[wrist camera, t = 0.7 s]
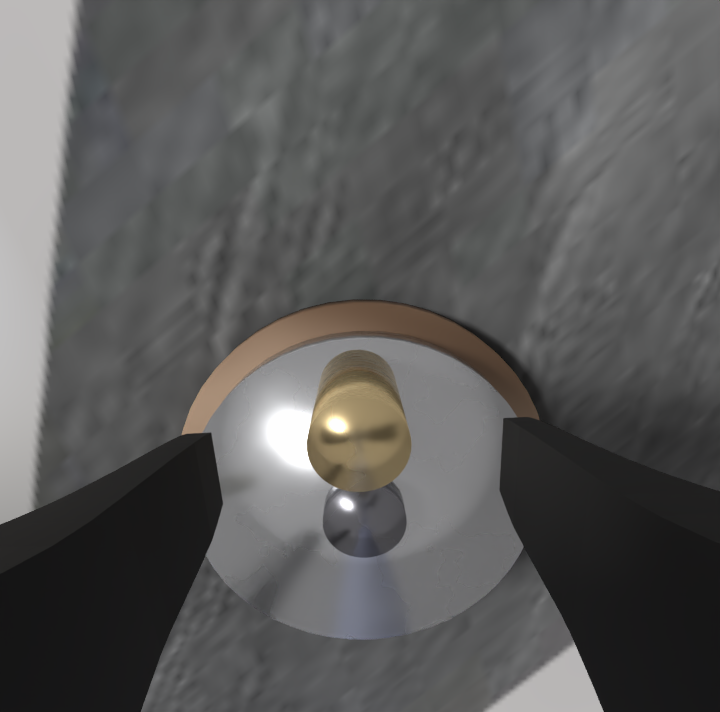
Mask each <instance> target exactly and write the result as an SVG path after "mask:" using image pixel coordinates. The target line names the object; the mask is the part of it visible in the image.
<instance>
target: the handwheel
mask: <svg viewBox="0 0 720 712" xmlns="http://www.w3.org/2000/svg"><path fill="white" fill-rule="evenodd" d="M514 417H517V416H516V414H515V413H514V411H513V410H512V408H511V407H510V406H509V404H508V403H507V401H506V400H505V399H504V398H503V397H502V396H501V395H500V393H499V392H498V391H497V390H496V389H495V388H494V387H493V386H492V385H491V384H490V383H489V381H488V380H487V379H486V378H485V377H484V376H483V375H482V374H481V373H479V372H478V371H477V370H476V369H474V368H473V367H472V366H471V365H469V364H468V363H467V362H466V361H464V360H462V359H461V358H459V357H457V356H456V355H454V354H452V353H450V352H449V351H447V350H445V349H443V348H440V347H438V346H436V345H433V344H431V343H429V342H426V341H423V340H420V339H416V338H413V337H409V336H405V335H401V334H394V333H387V332H380V331H351V332H342V333H334V334H328V335H324V336H320V337H316V338H312V339H308V340H306V341H303V342H301V343H298V344H295V345H293V346H290V347H288V348H286V349H284V350H282V351H280V352H278V353H277V354H275V355H273V356H271V357H269V358H267V359H266V360H265V361H263V362H262V363H261V364H259V365H258V366H256V367H255V368H254V369H252V370H251V371H250V372H248V373H247V374H246V375H245V376H244V377H243V378H242V379H241V380H240V381H239V382H238V383H237V384H236V385H235V386H234V387H233V389H232V390H231V391H230V393H229V394H228V395H227V396H226V398H225V399H224V400H223V402H222V403H221V404H220V406H219V407H218V408H217V410H216V411H215V412H214V414H213V415H212V416H211V418H210V420H209V421H208V423H207V425H206V427H205V429H204V431H203V432H202V433H210V432H211V434H212V440H213V446H214V452H215V458H216V464H217V470H218V476H219V482H220V488H221V494H222V500H223V506H222V510H221V513H220V517H219V520H218V524H217V527H216V530H215V533H214V536H213V539H212V542H211V544H210V546H209V549H208V551H207V553H206V556H207V558H208V560H209V561H210V563H211V565H212V566H213V568H214V569H215V570H216V572H217V573H218V574H219V575H220V577H221V578H222V579H223V580H224V582H225V583H226V584H227V585H228V586H229V587H230V588H231V589H232V590H233V591H234V592H236V593H237V594H238V595H239V596H240V597H241V598H242V599H244V600H245V601H246V602H248V603H249V604H250V605H252V606H253V607H254V608H256V609H257V610H259V611H261V612H262V613H264V614H266V615H268V616H269V617H271V618H273V619H275V620H277V621H279V622H282V623H284V624H286V625H288V626H291V627H293V628H297V629H300V630H303V631H306V632H309V633H313V634H318V635H323V636H328V637H334V638H344V639H379V638H389V637H395V636H400V635H405V634H410V633H414V632H417V631H420V630H423V629H427V628H430V627H432V626H435V625H437V624H439V623H442V622H444V621H446V620H449V619H451V618H452V617H454V616H456V615H458V614H459V613H461V612H463V611H465V610H467V609H468V608H469V607H471V606H472V605H473V604H475V603H476V602H478V601H479V600H480V599H482V598H483V597H484V596H485V595H486V594H487V593H488V592H490V591H491V590H492V589H493V588H494V587H495V586H496V585H497V584H498V583H499V582H500V581H501V579H502V578H503V577H504V576H505V575H506V574H507V572H508V571H509V570H510V569H511V567H512V566H513V564H514V563H515V561H516V560H517V558H518V556H519V555H520V553H521V551H522V549H523V547H524V546H523V544H522V542H521V540H520V538H519V537H518V535H517V533H516V531H515V529H514V527H513V525H512V522H511V520H510V517H509V515H508V512H507V510H506V507H505V504H504V502H503V499H502V496H501V493H500V491H499V488H500V470H501V452H502V434H503V418H514Z"/></svg>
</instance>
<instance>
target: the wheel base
mask: <svg viewBox="0 0 720 712" xmlns="http://www.w3.org/2000/svg"><path fill="white" fill-rule="evenodd" d="M351 331H380V332H387V333H394V334H401V335H405V336H409V337H413V338H416V339H420V340H423V341H426V342H429V343H431V344H433V345H436V346H438V347H440V348H443V349H445V350H447V351H449V352H450V353H452V354H454V355H456V356H457V357H459V358H461V359H462V360H464V361H466V362H467V363H468V364H469V365H471V366H472V367H473V368H474V369H476V370H477V371H478V372H479V373H481V374H482V375H483V376H484V377H485V378H486V379H487V380H488V381H489V383H490V384H491V385H492V386H493V387H494V388H495V389H496V390H497V391H498V392H499V393H500V395H501V396H502V397H503V398H504V399H505V400H506V401H507V403H508V404H509V406H510V407H511V408H512V410H513V411H514V413H515V414H516V416H517V417H531V418H534V419H537V420H540V419H539V416H538V413H537V410H536V408H535V406H534V404H533V402H532V400H531V398H530V396H529V393H528V392H527V390H526V389H525V387H524V386H523V384H522V383H521V381H520V380H519V378H518V377H517V375H516V374H515V372H514V371H513V370H512V369H511V368H510V367H509V366H508V365H507V364H506V362H505V361H504V360H503V359H502V358H501V357H500V356H499V355H498V354H497V353H496V352H495V351H494V350H493V349H491V348H490V347H489V346H488V345H487V344H485V343H484V342H483V341H482V340H480V339H479V338H478V337H477V336H476V335H474V334H473V333H472V332H470V331H468V330H467V329H465V328H464V327H462V326H460V325H459V324H457V323H455V322H454V321H452V320H450V319H447V318H445V317H443V316H441V315H438V314H436V313H434V312H431V311H429V310H425V309H422V308H418V307H415V306H411V305H408V304H404V303H397V302H390V301H383V300H346V301H337V302H328V303H324V304H320V305H316V306H312V307H308V308H304V309H302V310H299V311H297V312H294V313H291V314H289V315H286V316H284V317H281V318H279V319H277V320H276V321H274V322H272V323H270V324H269V325H267V326H265V327H263V328H261V329H260V330H258V331H257V332H255V333H254V334H253V335H251V336H250V337H249V338H248V339H246V340H245V341H244V342H242V343H241V344H240V345H239V346H238V347H237V348H236V349H235V350H234V351H233V352H232V353H231V354H230V355H229V356H228V357H227V358H226V359H225V360H224V361H223V362H222V363H221V364H220V365H219V366H218V367H217V368H216V369H215V370H214V372H213V373H212V374H211V376H210V377H209V378H208V380H207V381H206V382H205V384H204V385H203V386H202V388H201V390H200V391H199V393H198V395H197V397H196V399H195V401H194V403H193V405H192V407H191V408H190V411H189V414H188V417H187V420H186V423H185V425H184V428H183V432H182V435H185V434H190V433H202V432H203V431H204V429H205V427H206V425H207V423H208V421H209V420H210V418H211V416H212V415H213V414H214V412H215V411H216V410H217V408H218V407H219V406H220V404H221V403H222V402H223V400H224V399H225V398H226V396H227V395H228V394H229V393H230V391H231V390H232V389H233V387H234V386H235V385H236V384H237V383H238V382H239V381H240V380H241V379H242V378H243V377H244V376H245V375H246V374H247V373H248V372H250V371H251V370H252V369H254V368H255V367H256V366H258V365H259V364H261V363H262V362H263V361H265V360H266V359H267V358H269V357H271V356H273V355H275V354H277V353H278V352H280V351H282V350H284V349H286V348H288V347H290V346H293V345H295V344H298V343H301V342H303V341H306V340H308V339H312V338H316V337H320V336H324V335H328V334H334V333H342V332H351Z"/></svg>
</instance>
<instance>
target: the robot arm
mask: <svg viewBox="0 0 720 712" xmlns="http://www.w3.org/2000/svg"><path fill="white" fill-rule="evenodd" d="M499 491H500V493H501V496H502V499H503V502H504V504H505V507H506V510H507V512H508V515H509V517H510V520H511V522H512V525H513V527H514V529H515V531H516V533H517V535H518V537H519V538H520V540H521V542H522V544H523V546H524V548H525V550H526V551H527V553H528V555H529V557H530V559H531V561H532V562H533V564H534V566H535V568H536V570H537V571H538V573H539V575H540V577H541V579H542V580H543V582H544V584H545V586H546V588H547V589H548V591H549V593H550V595H551V597H552V599H553V600H554V602H555V604H556V606H557V608H558V609H559V611H560V613H561V615H562V617H563V619H564V621H565V623H566V625H567V627H568V629H569V631H570V633H571V635H572V638H573V640H574V642H575V645H576V647H577V649H578V651H579V654H580V656H581V658H582V661H583V663H584V665H585V668H586V670H587V672H588V675H589V677H590V679H591V682H592V684H593V686H594V689H595V691H596V694H597V696H598V699H599V701H600V704H601V706H602V708H603V711H604V712H720V491H716V490H713V489H710V488H707V487H703V486H700V485H697V484H694V483H691V482H688V481H685V480H682V479H679V478H676V477H673V476H670V475H667V474H665V473H662V472H659V471H656V470H654V469H651V468H648V467H646V466H643V465H641V464H638V463H636V462H633V461H631V460H628V459H626V458H623V457H621V456H619V455H616V454H614V453H612V452H609V451H607V450H605V449H602V448H600V447H598V446H596V445H593V444H591V443H589V442H587V441H585V440H582V439H580V438H578V437H576V436H574V435H571V434H569V433H567V432H565V431H563V430H561V429H558V428H556V427H554V426H552V425H549V424H547V423H545V422H542V421H540V420H537V419H534V418H531V417H514V418H503V434H502V452H501V470H500V488H499ZM222 506H223V500H222V494H221V488H220V482H219V476H218V470H217V464H216V458H215V452H214V446H213V440H212V434H211V432H210V433H190V434H185V435H182V436H179V437H177V438H175V439H173V440H171V441H169V442H167V443H165V444H163V445H161V446H159V447H158V448H156V449H154V450H152V451H150V452H148V453H147V454H145V455H143V456H141V457H139V458H138V459H136V460H134V461H132V462H130V463H129V464H127V465H125V466H123V467H121V468H119V469H118V470H116V471H114V472H112V473H110V474H108V475H106V476H104V477H102V478H100V479H98V480H97V481H95V482H93V483H91V484H89V485H87V486H85V487H83V488H81V489H79V490H77V491H75V492H73V493H71V494H69V495H67V496H65V497H63V498H61V499H59V500H57V501H54V502H52V503H50V504H48V505H46V506H43V507H41V508H39V509H36V510H34V511H32V512H29V513H27V514H25V515H22V516H20V517H18V518H16V519H13V520H11V521H8V522H6V523H3V524H1V525H0V712H141V709H142V706H143V703H144V701H145V698H146V695H147V692H148V689H149V686H150V684H151V681H152V678H153V675H154V672H155V669H156V667H157V664H158V661H159V658H160V655H161V653H162V650H163V648H164V645H165V643H166V641H167V638H168V636H169V633H170V631H171V629H172V627H173V625H174V622H175V620H176V618H177V616H178V614H179V612H180V610H181V607H182V605H183V603H184V601H185V599H186V597H187V594H188V592H189V590H190V588H191V586H192V584H193V582H194V579H195V577H196V575H197V573H198V571H199V569H200V566H201V564H202V562H203V560H204V558H205V555H206V553H207V551H208V549H209V546H210V544H211V542H212V539H213V536H214V533H215V530H216V527H217V524H218V520H219V517H220V513H221V510H222Z"/></svg>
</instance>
